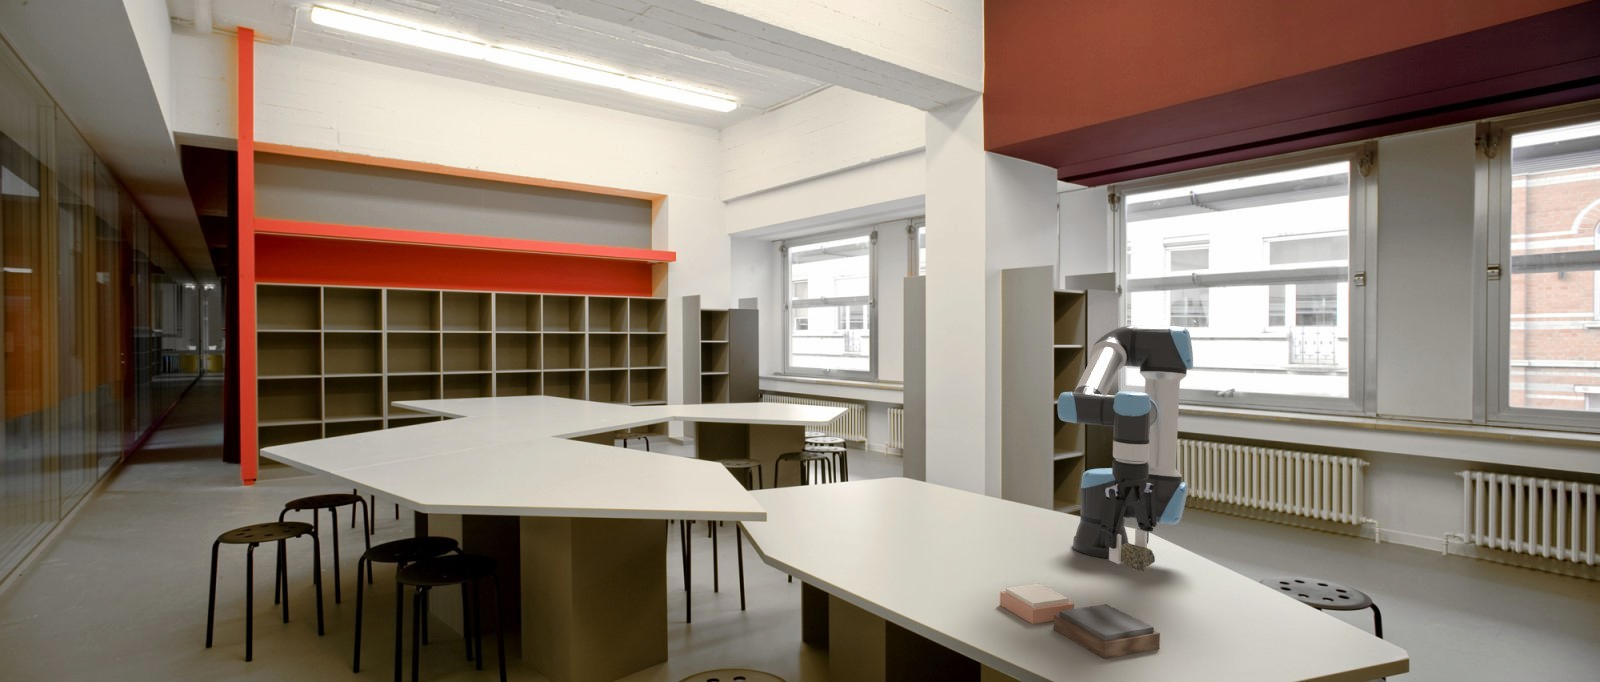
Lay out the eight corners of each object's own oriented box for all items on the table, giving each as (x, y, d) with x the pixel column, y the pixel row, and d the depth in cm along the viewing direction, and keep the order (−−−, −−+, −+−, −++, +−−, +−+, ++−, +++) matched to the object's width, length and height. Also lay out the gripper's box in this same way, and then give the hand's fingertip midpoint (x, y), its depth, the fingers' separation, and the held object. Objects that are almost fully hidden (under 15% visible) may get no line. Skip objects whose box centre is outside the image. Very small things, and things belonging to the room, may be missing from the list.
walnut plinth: (1105, 620, 154) (1105, 602, 153) (1159, 648, 140) (1160, 628, 140) (1053, 629, 148) (1054, 610, 148) (1104, 658, 135) (1105, 637, 135)
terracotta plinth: (1039, 599, 165) (1039, 581, 165) (1073, 617, 155) (1074, 599, 155) (1000, 604, 161) (1000, 587, 161) (1032, 624, 151) (1033, 605, 151)
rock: (1109, 564, 160) (1110, 544, 160) (1123, 555, 166) (1123, 536, 166) (1142, 572, 155) (1143, 552, 155) (1155, 563, 161) (1156, 544, 160)
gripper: (1149, 454, 169) (1147, 549, 170) (1083, 459, 161) (1081, 559, 162) (1177, 460, 162) (1174, 560, 163) (1109, 466, 154) (1106, 570, 155)
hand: (1127, 559), depth 162 cm, fingers closed on rock, 7 cm apart
